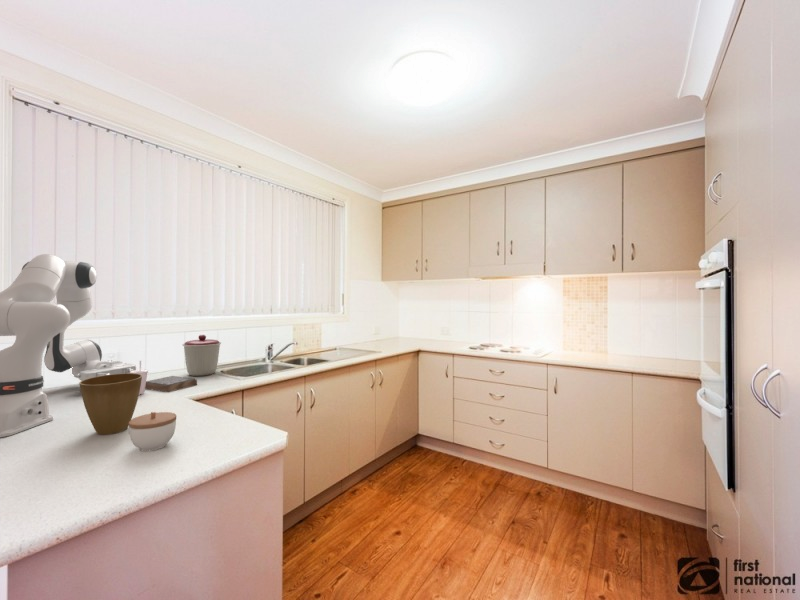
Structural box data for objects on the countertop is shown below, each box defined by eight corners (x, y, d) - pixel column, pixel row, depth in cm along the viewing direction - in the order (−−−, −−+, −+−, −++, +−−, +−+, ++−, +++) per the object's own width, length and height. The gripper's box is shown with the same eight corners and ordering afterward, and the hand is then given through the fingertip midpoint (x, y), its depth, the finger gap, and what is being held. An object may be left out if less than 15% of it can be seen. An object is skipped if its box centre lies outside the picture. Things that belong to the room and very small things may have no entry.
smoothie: (140, 396, 148) (140, 362, 148) (125, 395, 149) (125, 362, 149) (151, 392, 155) (151, 359, 155) (137, 391, 155) (137, 359, 155)
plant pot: (92, 425, 114) (92, 375, 114) (148, 420, 119) (148, 372, 119) (68, 443, 100) (68, 385, 100) (132, 436, 105) (132, 381, 105)
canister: (173, 376, 186) (174, 335, 186) (202, 370, 203) (202, 332, 203) (201, 379, 181) (201, 336, 181) (228, 372, 198) (228, 333, 198)
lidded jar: (168, 435, 106) (168, 404, 106) (182, 445, 99) (182, 411, 99) (123, 447, 98) (123, 412, 98) (135, 458, 91) (135, 421, 91)
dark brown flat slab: (168, 391, 155) (168, 384, 155) (142, 388, 161) (142, 381, 161) (196, 384, 168) (196, 378, 168) (172, 381, 174) (172, 375, 174)
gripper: (71, 368, 151) (92, 370, 146) (124, 360, 170) (144, 362, 165) (71, 383, 151) (92, 386, 146) (124, 374, 170) (144, 376, 165)
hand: (120, 373), depth 156 cm, fingers open, 8 cm apart
